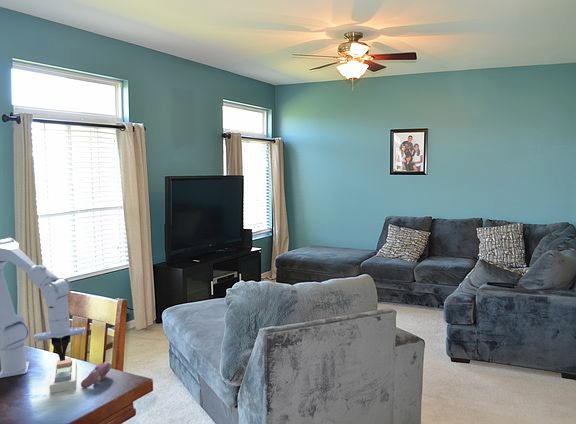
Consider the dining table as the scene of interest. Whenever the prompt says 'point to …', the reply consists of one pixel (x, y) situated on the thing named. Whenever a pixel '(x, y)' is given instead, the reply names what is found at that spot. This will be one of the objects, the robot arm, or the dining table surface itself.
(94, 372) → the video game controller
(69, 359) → the terracotta key
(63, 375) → the slate key
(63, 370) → the sage key
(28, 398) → the dining table surface
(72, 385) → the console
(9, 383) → the dining table surface
